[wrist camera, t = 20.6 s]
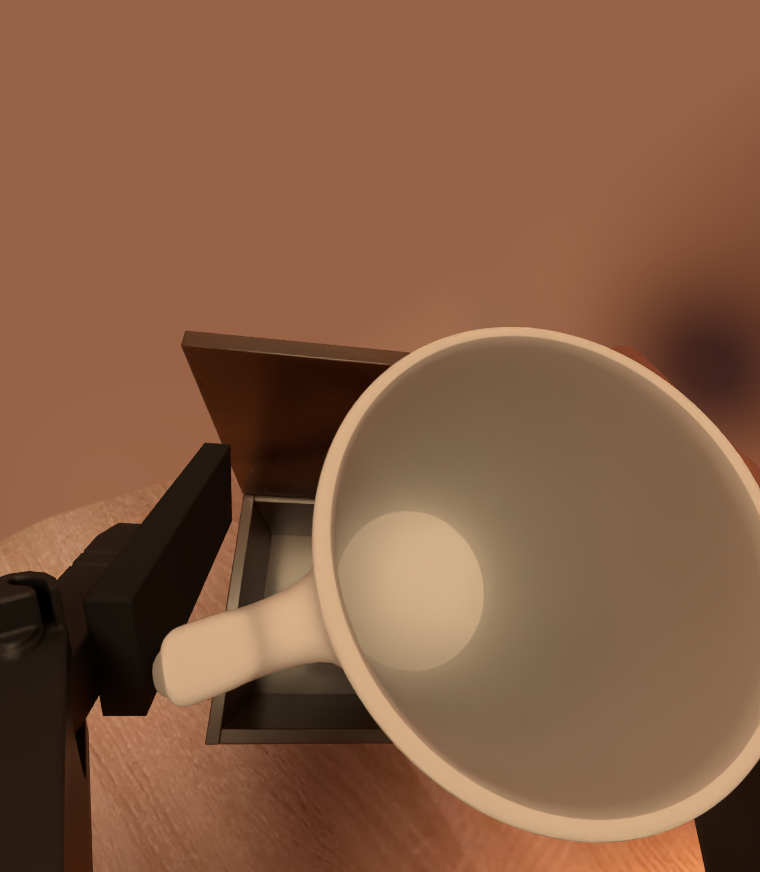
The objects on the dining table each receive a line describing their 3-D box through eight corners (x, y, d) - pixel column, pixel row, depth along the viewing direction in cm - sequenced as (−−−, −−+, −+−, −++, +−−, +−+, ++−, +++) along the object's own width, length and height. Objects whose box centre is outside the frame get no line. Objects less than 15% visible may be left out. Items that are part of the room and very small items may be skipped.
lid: (559, 381, 18) (555, 365, 19) (180, 345, 17) (184, 329, 17) (451, 505, 33) (451, 495, 33) (242, 493, 31) (244, 483, 31)
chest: (413, 703, 40) (460, 743, 27) (243, 702, 38) (204, 744, 25) (412, 535, 46) (449, 502, 33) (265, 527, 45) (244, 490, 32)
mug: (451, 485, 19) (634, 295, 8) (516, 646, 16) (903, 697, 6) (214, 556, 16) (-1, 427, 5) (252, 757, 14) (13, 1230, 3)
